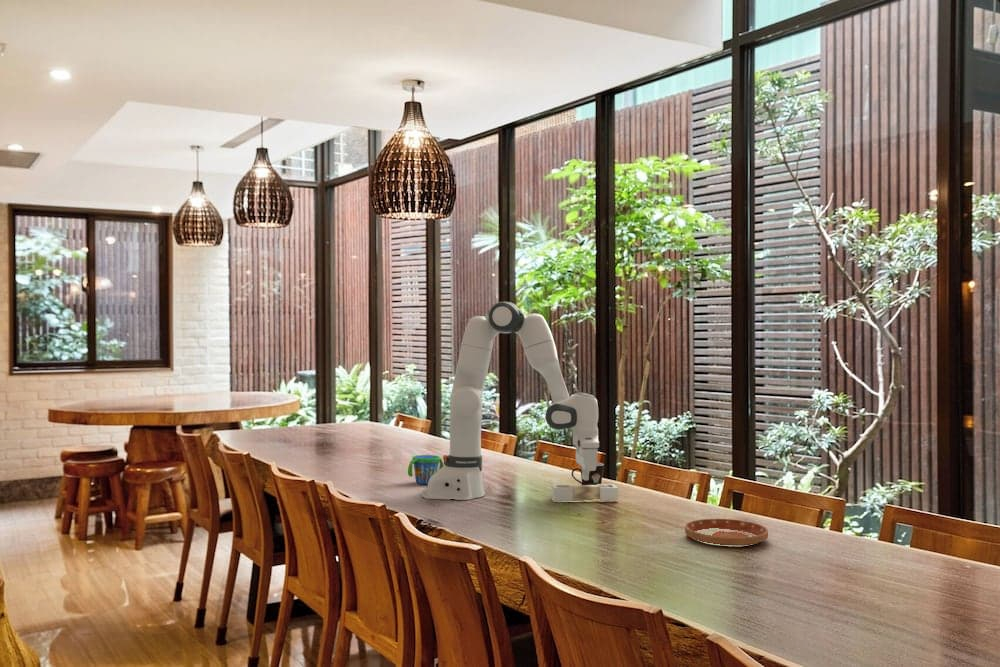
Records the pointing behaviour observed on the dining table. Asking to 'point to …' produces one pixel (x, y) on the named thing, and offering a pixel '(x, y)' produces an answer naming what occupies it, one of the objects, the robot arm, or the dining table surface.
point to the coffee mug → (592, 475)
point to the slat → (585, 491)
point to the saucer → (727, 537)
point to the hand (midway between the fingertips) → (585, 479)
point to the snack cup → (424, 467)
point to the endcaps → (566, 495)
